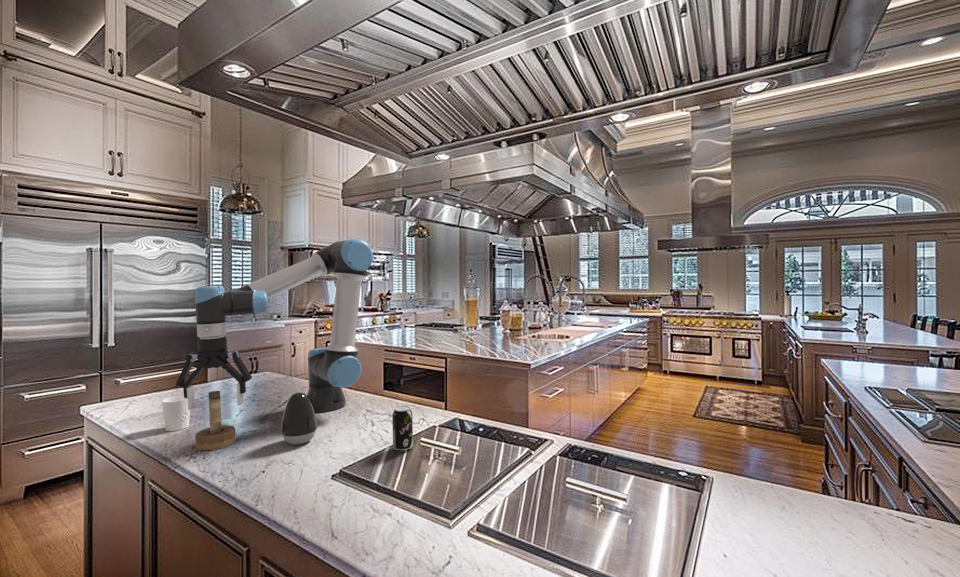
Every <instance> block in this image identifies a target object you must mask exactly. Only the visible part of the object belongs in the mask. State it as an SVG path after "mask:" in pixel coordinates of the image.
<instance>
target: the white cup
mask: <svg viewBox="0 0 960 577" xmlns="http://www.w3.org/2000/svg"><path fill="white" fill-rule="evenodd" d="M161 406H162V415H163V423H164V430H165V431H166V432H176V431H177V430H178V431H181V429H182V430H185V429H187V428H189V427H190V419H191V410H188V401H187V398H184V395H176V396H172V397H167V398H164V399H162V400H161ZM188 426H189V427H188ZM184 428H185V429H184Z"/></svg>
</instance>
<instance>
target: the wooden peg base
mask: <svg viewBox="0 0 960 577" xmlns="http://www.w3.org/2000/svg"><path fill="white" fill-rule="evenodd" d="M221 430H222V432H220V433H215V434H210V427H207V428H203V429H201V430H199V431H197V432H196V433H195V434H194V436H195V448H196V450H197V451H201V450H210V451H215V450H214V449H217V450H220V449H219V448H221V449H224V448H223V447H225V448H227V447H229V446H231V445H230V444H232V443H233V442H234V441H235V442H236V428H235V426H234V425H233V426H229V425H222V426H221ZM235 442H234V443H235ZM234 443H233V444H234ZM233 444H232V445H233ZM228 445H229V446H228ZM226 446H227V447H226Z"/></svg>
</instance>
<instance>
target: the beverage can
mask: <svg viewBox="0 0 960 577" xmlns="http://www.w3.org/2000/svg"><path fill="white" fill-rule="evenodd" d="M391 415H392V418H391V419H392V447H393V450H396V451H397V450H407V449H409V450H410V449H412V447H413V446H414V434H413V433H414V432H413V431H414V429H413V424H414V423H413V412H412V410H411V407H410V406H408V405H399V406H396V407H394V410H393V412H392V414H391ZM407 451H408V450H407Z"/></svg>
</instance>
